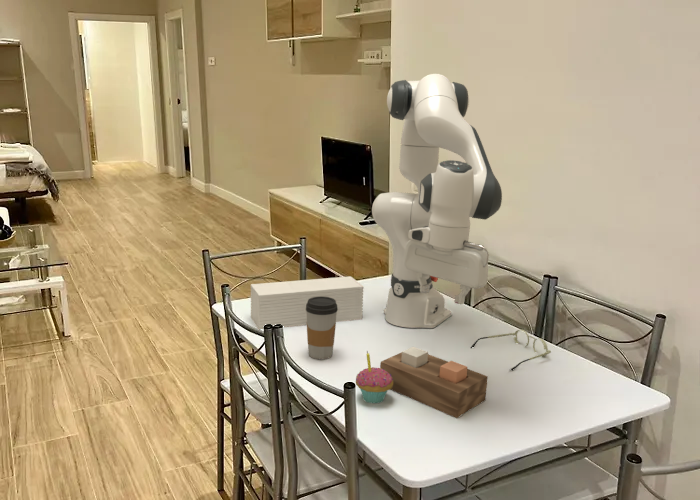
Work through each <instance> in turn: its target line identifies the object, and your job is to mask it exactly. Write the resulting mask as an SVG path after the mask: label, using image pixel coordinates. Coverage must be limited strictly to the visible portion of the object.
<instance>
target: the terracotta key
mask: <svg viewBox="0 0 700 500" xmlns="http://www.w3.org/2000/svg"><path fill="white" fill-rule="evenodd" d="M467 369H468V366H466V365H464V364H461V363H459V362H456V361H453V360H450V361H448V363H446V364H444V365H442V366H440V376H439V377H440V378H443V379H445V380H448V381H450V382H453V383H455V384H457V383H459V382H460V381H462V380H464V379H466V377H467Z"/></svg>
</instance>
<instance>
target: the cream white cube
mask: <svg viewBox="0 0 700 500" xmlns="http://www.w3.org/2000/svg"><path fill="white" fill-rule="evenodd" d="M401 352H402V360H401V362H402V363H404V364H407V365H410V366H412V367H415V368H418V367H420V366H422V365H424V364H426V363H427V359H428V354H429V352H428V351H426V350H423V349H421V348H418V347H415V346H411V347H409V348H407V349H405V350H402V351H401Z"/></svg>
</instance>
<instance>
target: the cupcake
mask: <svg viewBox="0 0 700 500" xmlns="http://www.w3.org/2000/svg"><path fill="white" fill-rule="evenodd" d="M366 360H367V361H366V362H367V368H363V369H362V370H361V371H360V370H359V373H357V374H356V377H355V385H356V387H358V388H359V390H360V393H361V396H362V399H363V401H364V402H366V403H369V404H379V403H382V402H383V401H384V399H385V397H386V394H387V392H388V391H391V390H390V389H391V388H392V386H393V379H392V376H391V375H390V374H389V373H388V372H387V371H386V370H384V369H382V368H380V367H374V366H371V365H372V364H371V363H372V362H371V356H370V353H369V351H368V350H366Z"/></svg>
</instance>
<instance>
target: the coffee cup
mask: <svg viewBox="0 0 700 500" xmlns="http://www.w3.org/2000/svg"><path fill="white" fill-rule="evenodd" d="M337 310H338V309H337V304H336V301H335V300H334V299H333V298H330V297H313V298H310V299H309V300H308V303H307V304H306V314H307V325H306V334H307V335H306V336H307V337H306V339H307V349H308V350H307V351H308V355H309V357H310V358H312V359H314V360H327V359H329V358H331V357H332V355H333V351H334V345H335V335H336V326H337V322H336V314H337Z"/></svg>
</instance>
